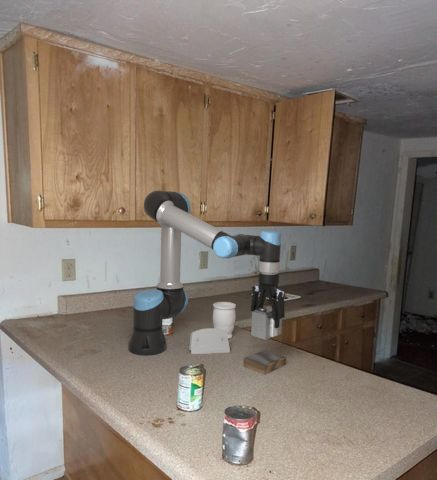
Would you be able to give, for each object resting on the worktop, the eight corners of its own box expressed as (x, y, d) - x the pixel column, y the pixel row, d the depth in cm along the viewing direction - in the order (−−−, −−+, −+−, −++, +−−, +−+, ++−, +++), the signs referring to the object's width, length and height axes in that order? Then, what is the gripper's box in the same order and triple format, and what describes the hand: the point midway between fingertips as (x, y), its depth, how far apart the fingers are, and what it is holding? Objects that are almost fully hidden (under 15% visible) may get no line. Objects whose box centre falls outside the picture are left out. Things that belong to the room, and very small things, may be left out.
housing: (281, 333, 145) (282, 306, 144) (265, 339, 138) (266, 310, 137) (267, 329, 149) (268, 303, 149) (251, 335, 142) (252, 307, 141)
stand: (264, 374, 136) (265, 365, 136) (243, 366, 143) (243, 357, 143) (285, 364, 146) (285, 356, 146) (264, 357, 153) (264, 349, 152)
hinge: (190, 354, 153) (189, 328, 155) (188, 353, 157) (188, 328, 160) (230, 352, 156) (229, 327, 159) (228, 352, 161) (227, 327, 163)
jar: (219, 331, 183) (220, 300, 181) (238, 335, 178) (240, 303, 176) (207, 337, 174) (208, 304, 172) (227, 341, 168) (228, 308, 167)
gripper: (297, 275, 138) (294, 338, 139) (254, 268, 151) (252, 325, 153) (285, 277, 132) (282, 342, 134) (242, 270, 146) (240, 329, 147)
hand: (266, 333), depth 143 cm, fingers closed on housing, 6 cm apart
